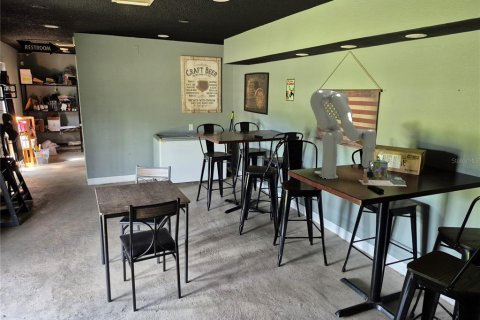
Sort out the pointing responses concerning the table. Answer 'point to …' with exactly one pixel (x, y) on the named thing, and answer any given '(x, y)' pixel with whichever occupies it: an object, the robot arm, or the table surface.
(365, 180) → the rust marker
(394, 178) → the button
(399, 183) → the colouring board
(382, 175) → the chalk box
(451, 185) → the table surface
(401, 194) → the table surface
